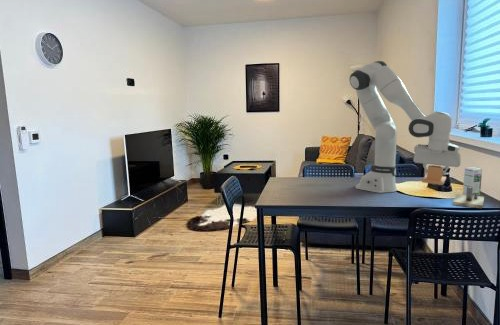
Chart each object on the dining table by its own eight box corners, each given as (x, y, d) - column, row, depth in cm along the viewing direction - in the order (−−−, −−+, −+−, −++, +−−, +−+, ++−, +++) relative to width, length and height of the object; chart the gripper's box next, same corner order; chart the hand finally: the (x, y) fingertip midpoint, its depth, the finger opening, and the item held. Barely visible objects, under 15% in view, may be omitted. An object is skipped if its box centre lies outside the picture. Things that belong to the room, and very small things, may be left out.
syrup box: (471, 196, 182) (474, 169, 180) (462, 193, 188) (464, 167, 185) (480, 195, 184) (482, 168, 181) (470, 192, 189) (472, 166, 187)
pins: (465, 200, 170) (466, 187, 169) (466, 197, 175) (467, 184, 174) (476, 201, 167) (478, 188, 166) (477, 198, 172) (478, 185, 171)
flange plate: (442, 185, 162) (444, 170, 161) (421, 182, 167) (423, 167, 166) (446, 179, 173) (447, 165, 172) (426, 176, 178) (427, 162, 177)
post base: (452, 204, 168) (453, 201, 168) (456, 196, 183) (456, 193, 182) (482, 208, 161) (482, 205, 161) (484, 199, 176) (484, 196, 175)
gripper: (413, 144, 170) (410, 171, 172) (462, 148, 159) (458, 177, 161) (416, 143, 175) (413, 169, 178) (463, 147, 164) (459, 175, 166)
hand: (434, 173), depth 169 cm, fingers closed on flange plate, 6 cm apart
